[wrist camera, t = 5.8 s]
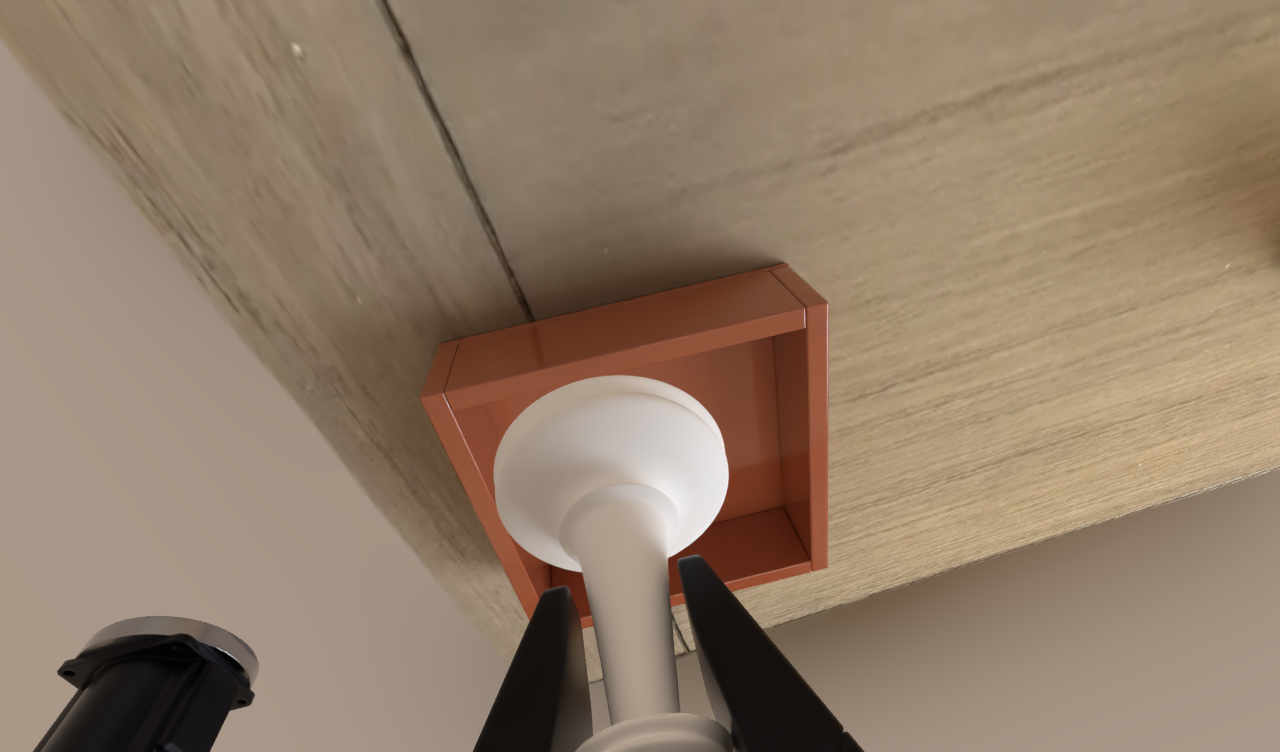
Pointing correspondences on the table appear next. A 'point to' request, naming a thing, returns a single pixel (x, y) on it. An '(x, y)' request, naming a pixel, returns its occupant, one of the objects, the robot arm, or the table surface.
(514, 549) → the open box
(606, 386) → the chess piece
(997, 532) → the table surface
